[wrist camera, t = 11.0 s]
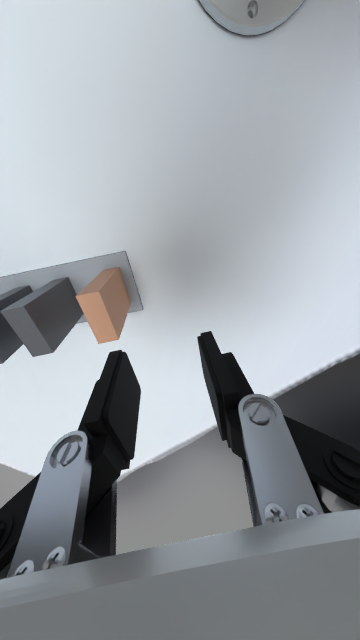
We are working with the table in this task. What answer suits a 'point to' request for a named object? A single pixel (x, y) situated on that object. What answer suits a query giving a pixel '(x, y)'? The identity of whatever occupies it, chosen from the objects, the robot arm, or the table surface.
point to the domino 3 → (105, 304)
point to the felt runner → (77, 277)
